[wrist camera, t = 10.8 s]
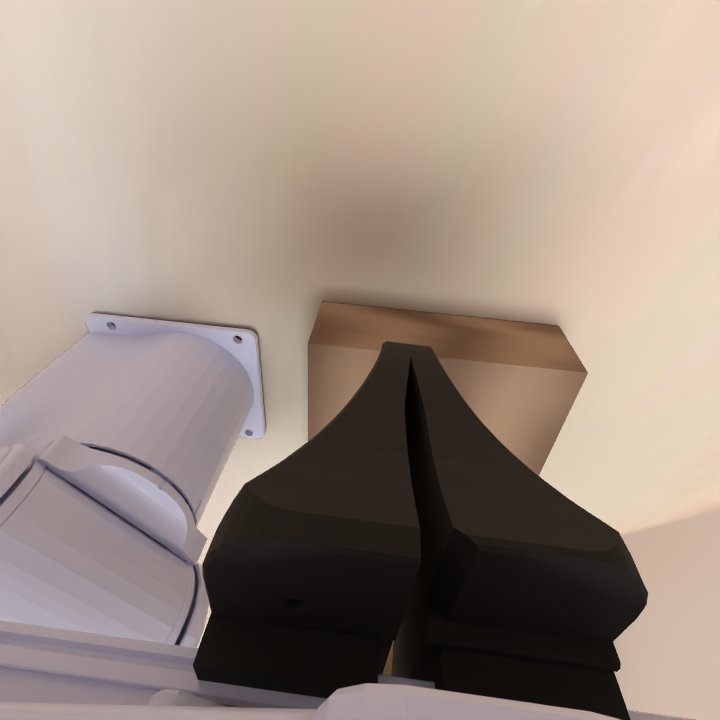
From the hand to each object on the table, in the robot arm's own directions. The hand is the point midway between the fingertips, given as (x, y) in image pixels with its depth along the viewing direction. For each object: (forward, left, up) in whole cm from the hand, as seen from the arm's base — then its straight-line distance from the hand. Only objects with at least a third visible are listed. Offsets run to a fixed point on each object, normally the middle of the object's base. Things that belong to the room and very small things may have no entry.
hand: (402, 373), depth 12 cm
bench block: (+2, -9, -9) cm, 13 cm away
